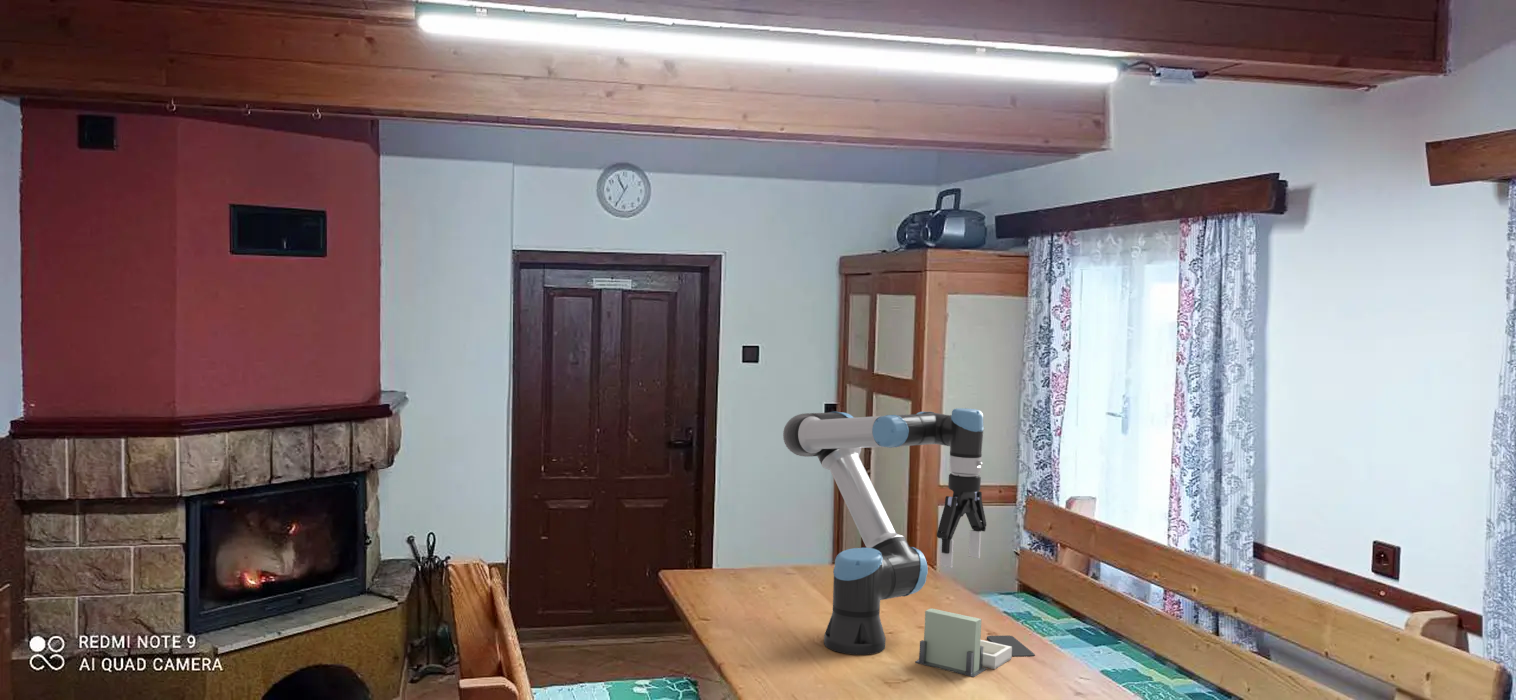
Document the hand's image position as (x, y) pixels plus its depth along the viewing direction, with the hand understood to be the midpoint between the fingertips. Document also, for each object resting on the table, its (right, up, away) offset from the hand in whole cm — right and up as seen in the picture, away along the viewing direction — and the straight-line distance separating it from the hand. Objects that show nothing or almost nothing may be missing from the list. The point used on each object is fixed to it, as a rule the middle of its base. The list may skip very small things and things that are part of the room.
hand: (960, 562), depth 262 cm
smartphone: (+15, -25, +13) cm, 32 cm away
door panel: (-3, -24, -4) cm, 24 cm away
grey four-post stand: (-3, -24, -3) cm, 24 cm away
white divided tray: (+3, -24, +5) cm, 24 cm away
